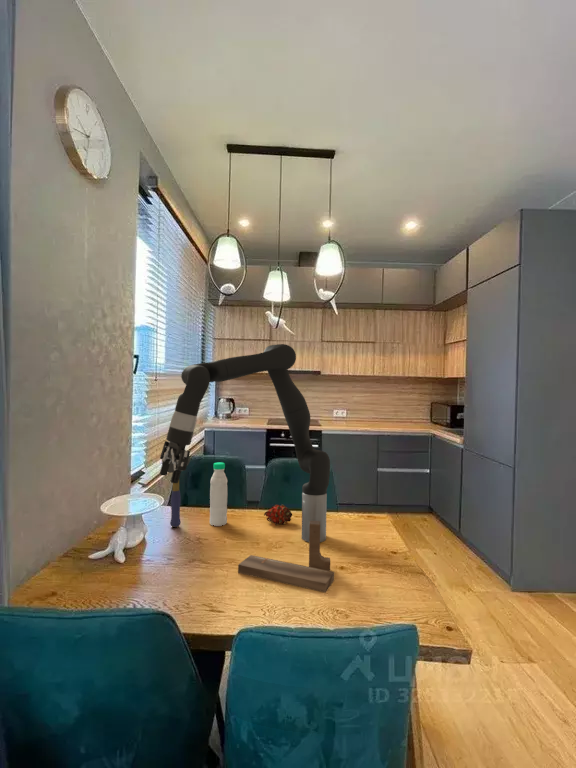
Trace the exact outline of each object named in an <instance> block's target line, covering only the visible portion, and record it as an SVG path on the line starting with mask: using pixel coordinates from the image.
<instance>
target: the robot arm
mask: <svg viewBox="0 0 576 768" xmlns="http://www.w3.org/2000/svg"><path fill="white" fill-rule="evenodd" d="M296 359H297V353H296V351H295V349H294V348H293V347H292V346H291V345H289V344H287V343H286V344H284V343H283V344H282V343H280V344H279V343H278V344H270V345H268V346H267V347H265V348H264V350H263V352H260V353H259V352H258V353H255V354H248V355H246V354H245V355H240V356H239V355H238V356H231V357H227V358H223V359H222V358H221V359H217V360H215V361H210V362H201V363H194V364H190V365H187V366H186V367H184V369H183V370H182V372H181V376H180V377H181V381H182V382H183V384H184V385H185V387H184V390H183V392H182V393H181V394H179V395H178V398H177V401H176V404H175V409H174V412H173V415H172V417H171V419H170V423H169V426H168V432H167V435H166V440H165V441H164V443H163V447H162V450H161V453H160V456H159V459H160V460H161V467H160V471H159V475H160V476H165V477H166V476H167V475H168V473H169V472H168V469H169V465H170V464H169V463H170V462H171V461H172V463H173V464H174V470H173V473H172V474H171V478H170V483H172V484H173V483H178V481H179V482H180V476H181V473H182V472H185V471H187V467H188V465H187V463H188V459H189V456H190V455H191V451H190V450H186V446H190V445H191V443H192V441H193V440H192V439H193V436H194V433H195V428H196V424H197V418H198V414H199V409H200V406H201V402H202V400H203V398H204V396H205V395H206V393H207V390H208V388H209V385H210V383H215V382H218V383H220V382H227V381H230V380H234V379H239V378H243V377H246V376H249V375H253V374H258V373H261V372H267V373H268V375H269V377H270V379H271V382H272V384H273V386H274V389H275V392H276V395H277V398H278V401H279V404H280V406H281V410H282V413H283V416H284V419H285V422H286V424H287V427H288V430H289V433H290V436H291V439H292V442H293V445H294V449H295V453H296V459H297V462H298V465H299V468H300V470H301V471H303V472H305V473H307V474H309V481H308V482H305V483H303V485H302V489H301V490H302V491H301V492H302V493H301V539H302V541H305V542H308V543H309V527H310V521H320V543H322V542H326V540H327V502H328V501H327V498H328V497H327V493H328V491H327V490H328V488H329V484H330V473H331V460H330V456H329V454H328V453H327V452H326V451H323V450H320V449H315V448H314V447H313V444H312V441H311V438H310V426H311V412H310V410H309V407H308V404H307V400H306V399H305V396H304V395H303V394H302V392H301V390H300V389H299V388H298V387H297V386H296V384H295V383H294V381H293V380H292V378H291V376H290V374H289V371H288V370H289V369H291V368H292V367H293V366H294V365H295V363H296V361H297V360H296ZM162 462H163V463H162ZM183 463H184V466H183ZM177 464H178V465H177Z"/></svg>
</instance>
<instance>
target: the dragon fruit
mask: <svg viewBox="0 0 576 768" xmlns="http://www.w3.org/2000/svg"><path fill="white" fill-rule="evenodd" d="M263 516H265V517H266V521H268V522H269V523H273V524H275V526H278V525H281V526H282V525H285V524H286V523H287V522H291V521H292V517H293V513H292V511H291V510H290V508H288V507H287V506H286V505H284V504H281V505H279V504H274V505H273V506H271V508H269V509H267V511H265V512H264V514H263Z"/></svg>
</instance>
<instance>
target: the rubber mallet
mask: <svg viewBox="0 0 576 768" xmlns="http://www.w3.org/2000/svg"><path fill="white" fill-rule="evenodd" d="M190 462H191V456H190V455H189V459H188V463H187V466H188V465H189V464H190ZM162 463H163V462H162V461H161V464H162ZM169 464H170V465H169V469H168V473H170V474H171V473H172V474H173V470H174V464H173V463H172V461H171V462H170V463H169ZM177 465H178V464H177ZM183 466H184V463H183ZM181 499H182V498H181V491H180V480H179V481H178V483H172V491H171V498H170V509H171V513H170V514H171V518H170V521H169V524H170V527H171V526H172V527H177V528H179V527H180V525H181V509H180V508H181V502H182V500H181ZM178 526H179V527H178ZM172 527H171V528H172Z"/></svg>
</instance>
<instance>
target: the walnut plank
mask: <svg viewBox="0 0 576 768" xmlns="http://www.w3.org/2000/svg"><path fill="white" fill-rule="evenodd" d="M237 573H238V574H241V575H246V576H251V577H254V578H255V577H256V578H259V579H263V580H268V581H272V582H277V583H281V584H285V585H290V586H294V587H299V588H303V589H308V590H312V591H317V592H321V593H327V592H328V590H330V589H329V588H331V586H332V584H333V583H334V581H335V571H332V570H330V571H327V570H322V569H317V568H313V567H309V565H308V566H306V565H303V564H302V565H301V564H297V563H292V562H286V561H284V560H283V561H282V560H278V559H273V558H266V557H263V556H258V555H252V554H250V555H249V556H247V557H246V558H245V559H244V560H242V561H241V562H240V563H238V564H237Z"/></svg>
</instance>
